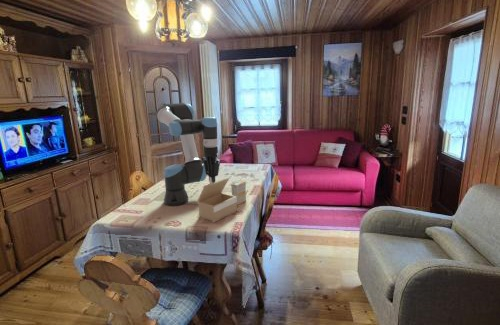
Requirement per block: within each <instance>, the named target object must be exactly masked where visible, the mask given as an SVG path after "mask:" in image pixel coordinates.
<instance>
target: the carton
mask: <svg viewBox="0 0 500 325" xmlns="http://www.w3.org/2000/svg"><path fill="white" fill-rule="evenodd" d="M197 203H198V217H199V218H201V219H204V220H206V221H209V222H212V223H216V222H219V221H221V220H223V219H225V218H226V217H229V216H231V215H233V214H235V213H237V212H238V205H237V197H236V196H232V194H228V193H224V192H221V193H219V194H217V195H214V196H211V197H209V198H206V199H204V200H201V201H199V202H198V201H197Z"/></svg>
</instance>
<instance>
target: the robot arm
mask: <svg viewBox="0 0 500 325" xmlns="http://www.w3.org/2000/svg"><path fill="white" fill-rule="evenodd" d="M155 115H156V116H155V117H156V119H157V121H159V122H160V123H162V124H165V125H166V126H167V127H168V130H169V132H168V133H169V134H170V136H173V137H174V136H175V137H180V141H181V142H180V143H181V146H182V149H183V150H182V152H183V154H184V159H185V161H184V163H183V164H182V163H177V164H176V163H175V164H172V165H169V166H166V167H165V168H164V169H163V177H164V186H165V194H164V198H163V203H164V205H166V206H168V207H169V206H170V207H173V206H174V207H175V206H181V205H185V204H186V203H188V202H189V195H188V193H187V190H186V188H185V185H188V184H193V183H201V182H202V181H206V179H207V176H208V182H209V184H211V183H214V182H216V177H218V176H219V172H220V166H221V165H220V164H221V162H222V160H221V159H219V158H218V153H219V147H218V145H219V142H218V141H219V140H218V122H217V118H216V117H215V116H203V117H202V118H198V119H195V112H194V108H193V106H192V105H191V104H190V103H187V102H185V103H184V102H181V103H179V102H178V103H164V104H162V105H161V106H160V107H158V108H157V110H156V112H155ZM196 134H202V136H203V137H202V139H203V154H204V156H203V157H201V158H199V153H198V150H197V146H196V145H197V144H196V140H195V136H194V135H196Z"/></svg>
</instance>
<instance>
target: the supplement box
mask: <svg viewBox="0 0 500 325" xmlns="http://www.w3.org/2000/svg"><path fill="white" fill-rule="evenodd" d="M230 184H231V187H230V188H231V195H232V196H236V197H237V206H239V205H241V204H243V203H245V202H247V191H246V188H247V187H246V181H245V180H238V181H235V182H233V183H230Z"/></svg>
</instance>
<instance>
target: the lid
mask: <svg viewBox="0 0 500 325" xmlns="http://www.w3.org/2000/svg"><path fill="white" fill-rule="evenodd" d="M229 179H230V178H229V177H226V178H223V179H219V180H218V181H215V182H214V183H211V184H210V183H209V184H206V185H204V186H203V188H202V190H201V192H200V194H199V197H198V199H197V203H198V202H199V201H201V200H204V199H206V198H209V197H211V196H214V195H217V194H219V193H223V191H224V188H225V187H226V185H227V184H228V181H229Z"/></svg>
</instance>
